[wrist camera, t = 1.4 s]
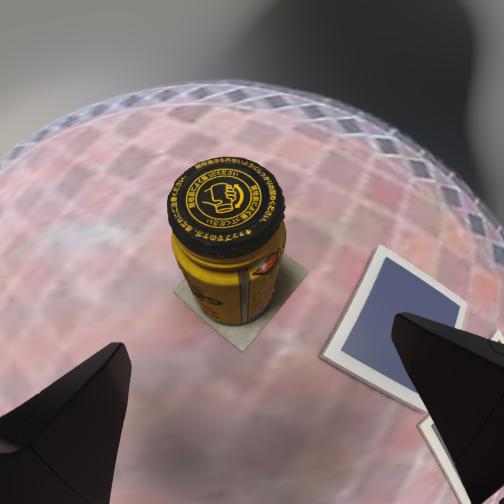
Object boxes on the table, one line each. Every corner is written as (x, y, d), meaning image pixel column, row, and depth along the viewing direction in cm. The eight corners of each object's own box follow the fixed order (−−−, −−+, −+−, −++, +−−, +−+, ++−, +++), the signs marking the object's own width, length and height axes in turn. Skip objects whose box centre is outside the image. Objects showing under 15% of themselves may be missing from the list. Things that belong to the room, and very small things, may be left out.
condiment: (173, 292, 23) (118, 203, 12) (241, 223, 26) (242, 111, 15) (242, 352, 21) (242, 311, 10) (308, 272, 24) (357, 175, 13)
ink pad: (422, 413, 18) (432, 413, 17) (319, 356, 20) (324, 354, 19) (460, 307, 22) (469, 302, 21) (374, 250, 25) (380, 242, 23)
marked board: (462, 508, 12) (466, 509, 12) (416, 425, 18) (421, 426, 17) (531, 414, 16) (535, 414, 15) (495, 329, 21) (499, 327, 20)
